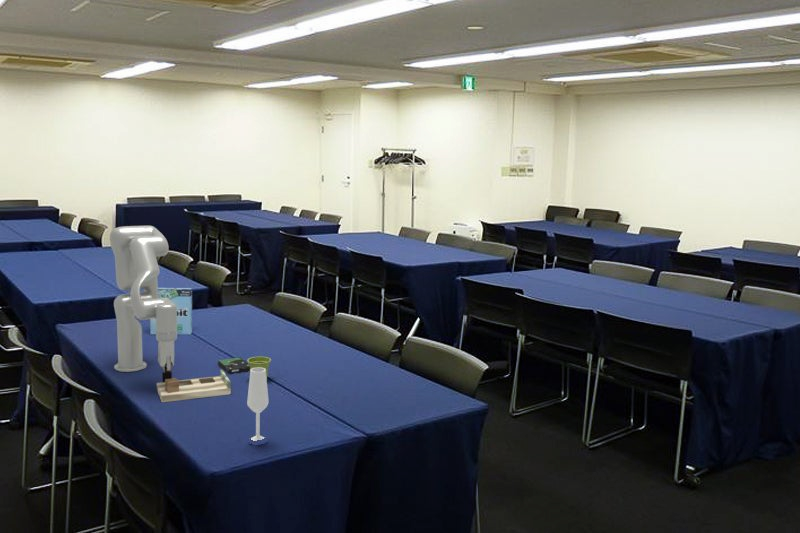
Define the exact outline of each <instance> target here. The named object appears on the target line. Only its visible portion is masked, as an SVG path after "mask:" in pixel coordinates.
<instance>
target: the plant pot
mask: <svg viewBox="0 0 800 533" xmlns="http://www.w3.org/2000/svg"><path fill="white" fill-rule="evenodd" d="M246 362H247V363H248V364H249V366H250V370H251V369H252V368H257V367H261V368H265V369H266V378H267V379H268V372H269V367H270V362H272V359H271V358H270V357H267V356H252V357H249V358H247V361H246Z"/></svg>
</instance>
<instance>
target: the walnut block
mask: <svg viewBox="0 0 800 533" xmlns="http://www.w3.org/2000/svg"><path fill="white" fill-rule="evenodd" d="M165 390H166V391H167V392H168V393H171V392H178V391H179V381H178V378H177V377H172V378H171V379H165Z"/></svg>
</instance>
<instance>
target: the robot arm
mask: <svg viewBox="0 0 800 533" xmlns="http://www.w3.org/2000/svg"><path fill="white" fill-rule="evenodd" d="M109 244H110V247H111V250H112V252H113V255H114V263H115V264H114V265H115V279H116V285H117V288H118V289H119V290H122V291H130V293H123V294H120V295H118V296H116V297H115V299H114V300H113V307H114V313H115V318H116V330H117V331H116V333H117V335H116V336H117V360H118V361H117V363H116V364H114V366H113V367H114V370H115V371H117V372H123V373H130V372H138V371H142V370H144V369H146V368H147V366H148V364H147V362H145V361H143V358H144V356H143V326H142V324H141V322H140V321H146V320H150V319H155V318H156V334H155V340H156V341H157V342H158V344H157V346H158V347H157V362H158V364H159V366H160V367H161V368H162V372H161V374H162V381H161V382H163V383H165V379H171V378H173V375H172V374H173V372H172V367H173V366H175V341H176V340H178V335H177V306H176V304H174V303H172V302H171V301H170V300H169V299H168V298H158V288H159V284H158V283H159V281H158V276H159V275H160V273H161V272H160V271H161V270H160V267H159V263H158V260H157V257H165V256H167V255H168V253H169V243H168V240H167V238H166V237H165V236H164V235H163V233H162V232H160V230H158V228H156V227H155V226H153V225H129V226H128V225H126V226H118V227H115V228H113V229H111V231H110V234H109ZM141 290H143V291H141ZM139 320H140V321H139Z"/></svg>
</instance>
